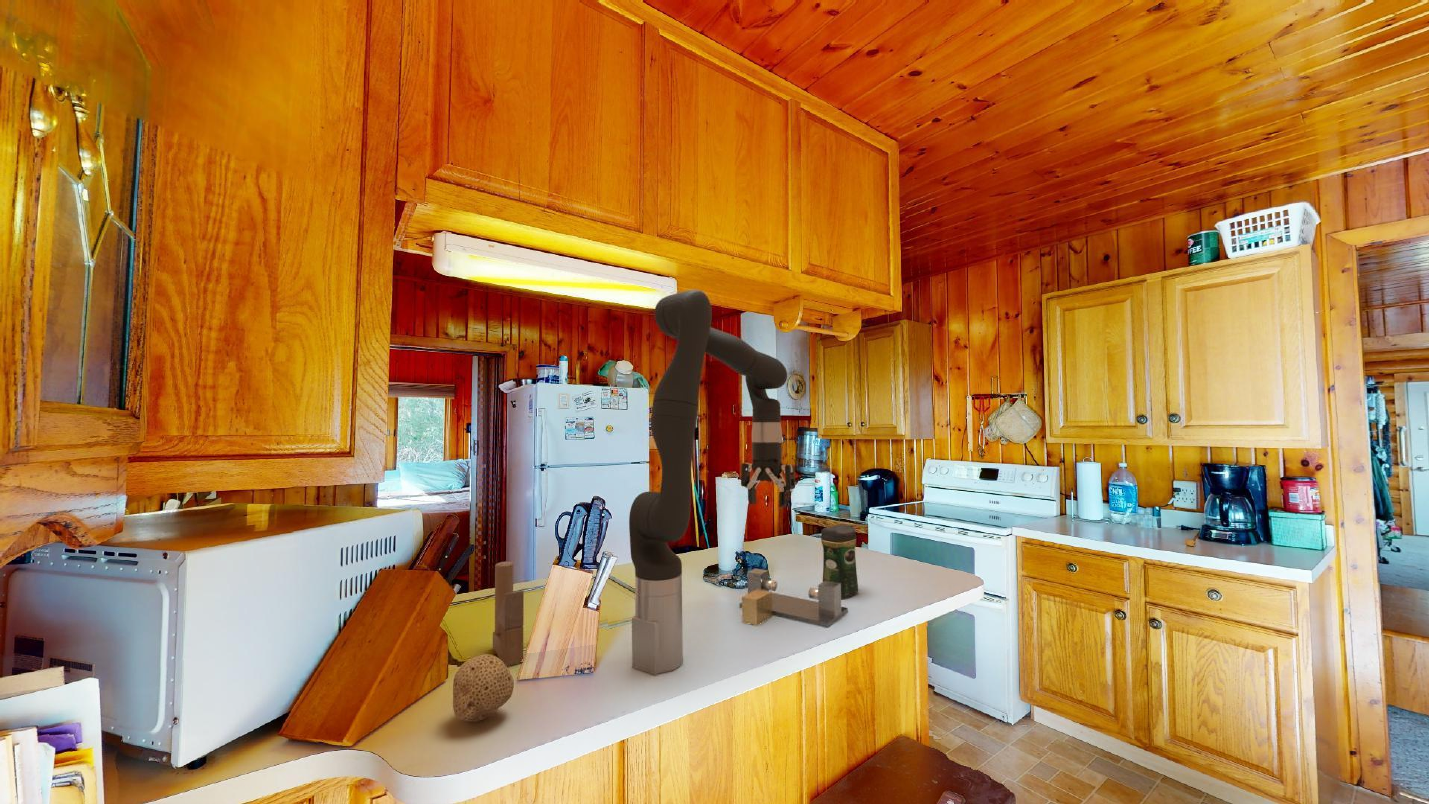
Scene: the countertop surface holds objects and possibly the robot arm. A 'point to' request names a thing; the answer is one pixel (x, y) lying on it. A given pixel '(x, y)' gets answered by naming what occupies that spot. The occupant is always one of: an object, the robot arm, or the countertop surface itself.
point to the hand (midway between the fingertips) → (767, 505)
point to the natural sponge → (481, 687)
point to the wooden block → (508, 616)
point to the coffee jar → (840, 557)
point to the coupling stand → (802, 600)
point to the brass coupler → (756, 607)
